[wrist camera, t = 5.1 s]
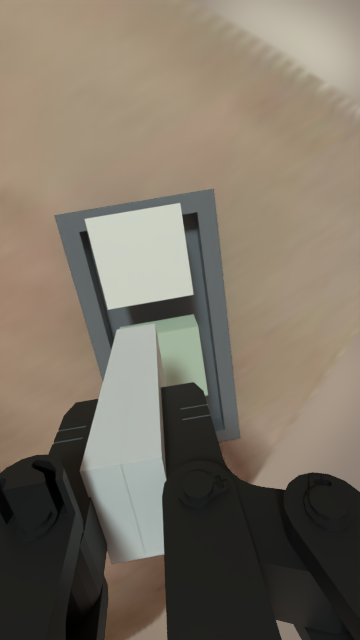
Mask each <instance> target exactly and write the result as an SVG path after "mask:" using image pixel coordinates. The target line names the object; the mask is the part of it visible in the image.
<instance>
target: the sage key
mask: <svg viewBox="0 0 360 640" xmlns="http://www.w3.org/2000/svg"><path fill="white" fill-rule="evenodd" d="M149 324H155V325H156V331H157V336H158V342H159V348H160V354H161V359H162V365H163V371H164V377H165V382H166V387H167V386H173V385H179V384H185V383H191V382H194V383H195V384H196V385H198V386H199V387H200V388H201V389H202V390H203V391H204V394H205V396H206V395H208V391H207V384H206V377H205V370H204V363H203V356H202V349H201V342H200V335H199V329H198V325H197V322H196V319H195V317H194V314H192V315H186V316H180V317H175V318H169V319H163V320H158V321H152V322H146V323H141V324H135V325H129V326H124V327H120V329H124V328H130V327H137V326H143V325H149Z"/></svg>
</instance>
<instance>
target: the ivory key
mask: <svg viewBox="0 0 360 640" xmlns="http://www.w3.org/2000/svg"><path fill="white" fill-rule="evenodd" d="M85 223H86V227H87V231H88V235H89V238H90V242H91V246H92V250H93V254H94V258H95V262H96V265H97V269H98V273H99V277H100V281H101V285H102V289H103V292H104V296H105V300H106V304H107V308H108V310H109V309H115V308H121V307H126V306H132V305H138V304H143V303H149V302H155V301H161V300H166V299H172V298H178V297H183V296H189V295H194V294H193V287H192V280H191V273H190V267H189V260H188V253H187V246H186V239H185V232H184V225H183V218H182V212H181V205H180V203H176V204H170V205H165V206H159V207H153V208H147V209H141V210H135V211H129V212H123V213H117V214H111V215H105V216H99V217H93V218H87V219H85Z"/></svg>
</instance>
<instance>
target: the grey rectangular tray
mask: <svg viewBox="0 0 360 640" xmlns="http://www.w3.org/2000/svg"><path fill="white" fill-rule="evenodd" d="M176 203H180V205H181V212H182V218H183V225H184V232H185V239H186V246H187V253H188V260H189V267H190V273H191V280H192V287H193V294H194V295H189V296H183V297H178V298H172V299H166V300H161V301H155V302H149V303H143V304H138V305H132V306H126V307H121V308H115V309H109V310H108V308H107V304H106V300H105V296H104V292H103V289H102V285H101V281H100V277H99V273H98V269H97V265H96V262H95V258H94V254H93V250H92V246H91V242H90V238H89V235H88V231H87V227H86V223H85V219H87V218H93V217H99V216H105V215H111V214H117V213H123V212H129V211H135V210H141V209H147V208H153V207H159V206H165V205H170V204H176ZM54 216H55V219H56V223H57V226H58V230H59V233H60V236H61V240H62V243H63V247H64V250H65V253H66V257H67V260H68V264H69V267H70V271H71V274H72V277H73V281H74V284H75V288H76V291H77V294H78V298H79V301H80V305H81V308H82V311H83V315H84V318H85V322H86V325H87V329H88V332H89V335H90V339H91V342H92V346H93V349H94V352H95V356H96V359H97V363H98V366H99V370H100V373H101V376H102V380H103V381H104V377H105V373H106V369H107V365H108V362H109V358H110V354H111V350H112V346H113V342H114V339H115V335H116V331H117V329H120V327H124V326H129V325H135V324H141V323H146V322H152V321H158V320H163V319H169V318H175V317H180V316H186V315H192V314H194V317H195V319H196V322H197V325H198V329H199V335H200V342H201V349H202V356H203V363H204V370H205V377H206V384H207V391H208V395H206V396H205V397H206V400H207V404H208V408H209V412H210V416H211V418H212V422H213V425H214V429H215V432H216V436H217V439H218V442H222V441H227V440H233V439H238V438H240V433H239V423H238V414H237V404H236V395H235V385H234V376H233V366H232V357H231V347H230V338H229V328H228V319H227V309H226V300H225V290H224V281H223V271H222V262H221V252H220V243H219V233H218V224H217V214H216V205H215V195H214V189H209V190H203V191H197V192H191V193H185V194H179V195H173V196H167V197H161V198H155V199H149V200H143V201H137V202H131V203H125V204H119V205H113V206H107V207H102V208H96V209H90V210H84V211H78V212H72V213H66V214H60V215H54Z"/></svg>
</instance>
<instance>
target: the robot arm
mask: <svg viewBox="0 0 360 640" xmlns="http://www.w3.org/2000/svg"><path fill="white" fill-rule="evenodd" d="M107 551H108V554H109V557H110V560H111V563H112V564H115V563H120V562H126V561H131V560H136V559H142V558H147V557H152V556H158V555H163V554H164V561H165V587H166V612H167V637H168V640H282V639H281V636H280V633H279V630H278V626H277V623H276V620H280V621H283V622H287V623H291V624H294V626H295V628H296V630H297V632H298V633H299V635H300V637H301V639H302V640H360V492H359V491H358V490H356V489H355V488H354V487H352V486H351V485H350V484H348V483H347V482H346V481H344V480H341V479H339V478H336V477H334V476H331V475H329V474H322V473H308V474H304V475H299V476H298V477H296V478H295V479H294V480H292V481H291V482H290V483H289V484H288V486H287V488H286V490H282V489H274V488H266V487H260V486H256V485H252V484H249V483H247V482H245V481H243V480H241V479H239V478H238V477H237V476H235V475H234V474H233V473H232V472H231V471H230V470H229V469H228V467H227V466H226V464H225V462H224V459H223V456H222V453H221V450H220V446H219V443H218V439H217V436H216V432H215V429H214V425H213V422H212V418H211V416H210V412H209V408H208V406H207V401H206V398H205V394H204V391H203V390H202V389H201V388H200V387H199V386H198V385H196V384H195V383H194V382H191V383H185V384H179V385H173V386H167V387H166V382H165V377H164V371H163V365H162V359H161V354H160V348H159V342H158V336H157V331H156V325H155V324H149V325H143V326H137V327H130V328H124V329H117V331H116V335H115V339H114V342H113V346H112V350H111V354H110V358H109V362H108V365H107V369H106V373H105V377H104V381H103V384H102V388H101V392H100V396H99V399H95V400H89V401H83V402H77V403H75V404H74V405H73V406H72V408H71V409H70V410H69V411H68V412H67V413H66V414H65V415H64V417H63V420H62V422H61V425H60V427H59V432H57V435H56V437H55V440H54V444H53V445H52V447H51V449H50V452H49V454H48V455H35V456H32V457H28V458H25V459H22V460H20V461H18V462H16V463H15V464H13V465H11V466H9V467H7V468H6V469H5V470H4V471H2V472H1V473H0V640H104V636H105V627H106V617H107V607H108V585H107V582H106V579H105V577H104V568H105V560H106V552H107Z"/></svg>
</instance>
